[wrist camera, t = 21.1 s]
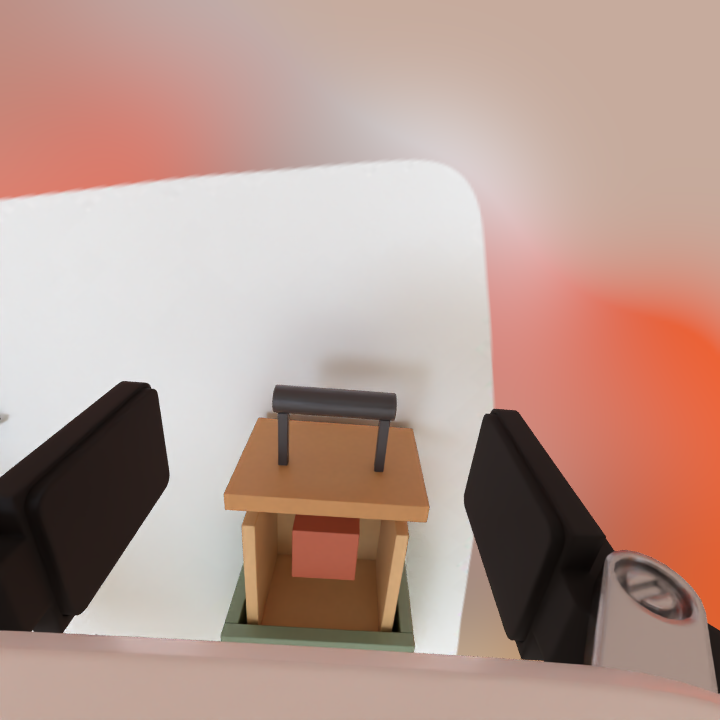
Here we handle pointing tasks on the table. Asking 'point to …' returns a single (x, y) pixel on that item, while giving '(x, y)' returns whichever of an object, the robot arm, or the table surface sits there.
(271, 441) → the drawer
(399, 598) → the cabinet
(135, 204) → the table surface
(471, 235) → the table surface
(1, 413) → the table surface
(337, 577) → the block
